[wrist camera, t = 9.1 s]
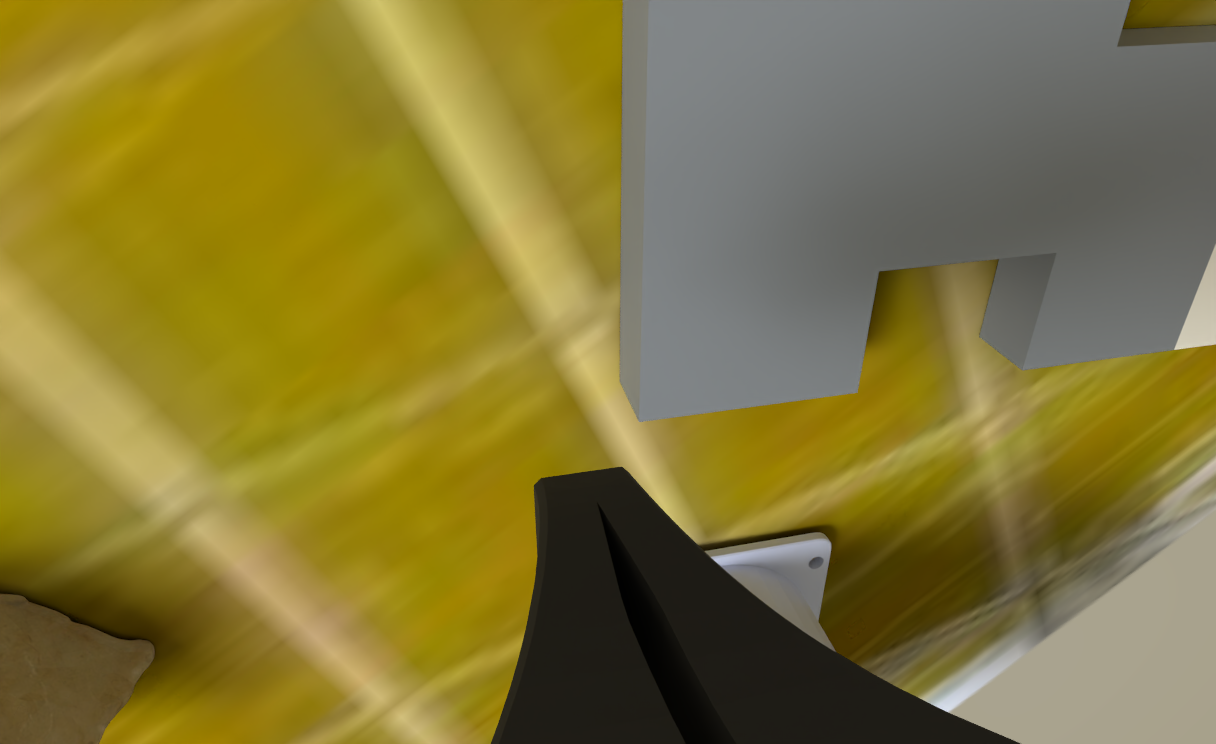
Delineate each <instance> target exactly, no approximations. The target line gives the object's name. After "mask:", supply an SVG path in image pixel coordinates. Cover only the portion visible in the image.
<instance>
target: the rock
mask: <svg viewBox="0 0 1216 744" xmlns="http://www.w3.org/2000/svg"><path fill="white" fill-rule="evenodd" d="M154 654H155V650H154V646H153V644H152V643H151V642H150V641H147V640H141V639H138V640H123V639H118V638H115V637H112V636H110V635H108V634H106V633H103V632H101V631H99V630H97V629H94V628H92V627H89V626H87V625H83V624H78V623H75V622H72V621H71V620H70V619H69V617H67V616H65V615H63V614H61V613H59V612H57V611H55V610H52V609H49V608H46V607H44V606H40V605H37V604H34V603H31V602H29V601H28V600H27V599H26V598H25V597H23V596H20V595H12V594H0V744H99V742H100V740H101V738H102V735H103V733H104V731H105V728H106V727H107V726H108V724H109V723H110V721H111V720H112V719H113V718H114V717H115V715H116V714H117V713H118V712H119V711H120V710H121V709H122V708H123V707H124V705H125V704H126V703H127V702H128V700H129V698H130V697H131V695H132V692H133V689H134V686H135V684H136V682H137V681H138V679H139V678H140V676H141V675H142V673H143V672H144V671H145V670H146V669H147V668H148V667H149V666H150V664H151V662H152V661H153V659H154Z"/></svg>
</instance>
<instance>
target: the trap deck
mask: <svg viewBox="0 0 1216 744" xmlns="http://www.w3.org/2000/svg"><path fill="white" fill-rule="evenodd" d="M1129 4H1130V0H623V63H622V181H621V300H620V383H621V385H622V387H623V389H624V391H625V393H626V396H627V398H628V400H629V402H630V404H631V406H632V408H633V410H634V412H635V414H636V417H637V419H638V421H639V422H643V421H650V420H658V419H665V418H673V417H680V416H687V415H695V414H702V413H710V412H717V411H724V410H732V409H739V408H747V407H754V406H761V405H769V404H776V403H784V402H791V401H799V400H806V399H813V398H821V397H828V396H836V395H843V394H850V393H857V392H858V386H859V380H860V375H861V369H862V364H863V358H864V352H865V347H866V341H867V336H868V330H869V324H870V319H871V313H872V308H873V302H874V296H875V291H876V285H877V280H878V274H879V271H888V270H898V269H907V268H917V267H926V266H936V265H946V264H955V263H965V262H974V261H984V260H993V259H999V262H998V266H997V269H996V273H995V277H994V281H993V285H992V289H991V293H990V297H989V301H988V305H987V309H986V312H985V316H984V320H983V324H982V328H981V332H980V336H979V337H980V338H982V339H983V340H984V341H985V342H987V343H988V344H989V345H991V346H992V347H993V348H994V349H996V350H997V351H998V352H999V353H1001V354H1002V355H1003V356H1005V357H1006V358H1007V359H1008V360H1010V361H1011V362H1012V363H1014V364H1015V365H1016V366H1017V367H1019V368H1020V369H1021V370H1028V369H1036V368H1043V367H1050V366H1058V365H1065V364H1073V363H1080V362H1088V361H1095V360H1102V359H1110V358H1117V357H1125V356H1132V355H1139V354H1147V353H1154V352H1162V351H1169V350H1176V349H1184V348H1191V347H1199V346H1206V345H1214V344H1216V25H1204V26H1182V27H1160V28H1138V29H1122V28H1123V24H1124V21H1125V17H1126V14H1127V11H1128V7H1129Z"/></svg>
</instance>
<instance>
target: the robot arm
mask: <svg viewBox="0 0 1216 744" xmlns="http://www.w3.org/2000/svg"><path fill="white" fill-rule="evenodd" d="M534 498H535V517H536V536H537V554H538V558H537V567H536V577H535V584H534V590H533V595H532V600H531V605H530V611H529V616H528V621H527V626H526V631H525V635H524V639H523V643H522V647H521V651H520V655H519V659H518V662H517V666H516V669H515V673H514V676H513V680H512V683H511V687H510V690H509V693H508V696H507V699H506V702H505V705H504V708H503V711H502V714H501V717H500V720H499V723H498V726H497V728H496V731H495V734H494V737H493V739H492V742H491V744H1020V743H1018V742H1016V741H1013V740H1011V739H1009V738H1006V737H1004V736H1002V735H999V734H997V733H994V732H992V731H990V730H987V729H985V728H983V727H981V726H978V725H976V724H974V723H971V722H969V721H966V720H964V719H962V718H959V717H957V716H955V715H952V714H950V713H948V712H946V711H944V710H942V709H940V708H937V707H935V706H933V705H931V704H929V703H927V702H925V701H924V700H922V699H920V698H918V697H916V696H914V695H912V694H910V693H908V692H906V691H904V690H902V689H900V688H898V687H896V686H894V685H892V684H890V683H888V682H887V681H885V680H883V679H881V678H879V677H877V676H876V675H874V674H872V673H870V672H869V671H867V670H865V669H864V668H862V667H860V666H858V665H857V664H855V663H853V662H852V661H850V660H848V659H847V658H845V657H843V656H842V655H840V654H838V653H837V652H836V651H835V649H834V647H833V646H832V644H831V642H830V641H829V639H828V637H827V636H826V634H825V632H824V630H823V629H822V627H821V625H820V624H819V622H818V620H819V615H820V609H821V604H822V598H823V593H824V587H825V582H826V576H827V571H828V565H829V560H830V554H831V548H832V546H831V542H830V541H829V539H828V538H827V536H826V535H825V534H823V533H821V532H815V533H809V534H803V535H797V536H791V537H785V538H779V539H773V540H768V541H762V542H756V543H750V544H744V545H738V546H732V547H726V548H720V549H714V550H708V551H704V550H703V549H702V548H700V547H699V546H698V545H697V544H696V543H695V542H694V541H693V540H692V539H691V538H690V537H689V536H688V535H687V534H686V533H685V532H684V531H683V530H682V529H681V528H680V527H679V526H678V525H677V524H676V523H675V522H674V521H673V520H672V519H671V518H670V517H669V516H668V515H667V514H666V513H665V512H664V511H663V510H662V509H661V508H660V507H659V506H658V505H657V503H656V502H655V501H654V500H653V499H652V498H651V497H650V496H649V495H648V494H647V493H646V491H645V490H644V489H643V488H642V487H641V486H640V485H639V484H638V482H637V481H636V480H635V479H634V478H633V477H632V476H631V475H630V473H629V472H628V471H626V470H625V469H624V468H623V467H616V468H609V469H602V470H595V471H588V472H581V473H574V474H567V475H560V476H553V477H546V478H541V479H540V480H539V481H538V482H537V483H536V484H535V485H534ZM815 557H816V558H815ZM813 558H814V559H813ZM812 559H813V560H812Z"/></svg>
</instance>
